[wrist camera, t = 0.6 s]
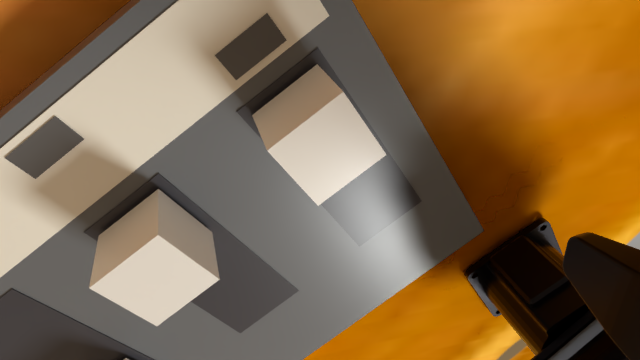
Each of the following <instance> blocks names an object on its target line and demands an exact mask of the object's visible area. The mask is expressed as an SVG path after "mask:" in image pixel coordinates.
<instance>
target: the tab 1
mask: <svg viewBox="0 0 640 360" xmlns="http://www.w3.org/2000/svg"><path fill="white" fill-rule="evenodd" d="M218 280H220V278H219V272H218V266H217V259H216V253H215V247H214V240H213V234H212V232H211V231H210V230H209V229H208V228H206V227H205V226H204V225H203V224H201V223H200V222H199V221H198V220H196V219H195V218H194V217H193V216H191V215H190V214H189V213H188V212H186V211H185V210H184V209H183V208H182V207H180V206H179V205H178V204H177V203H175V202H174V201H173V200H172V199H170V198H169V197H168V196H167V195H165V194H164V193H163V192H162V191H160V190H159V189H157V190H156V191H155V192H154V193H152V194H151V195H150V196H149V197H147V198H146V199H145V200H143V201H142V202H141V203H140V204H138V205H137V206H136V207H135V208H133V209H132V210H131V211H129V212H128V213H127V214H126V215H124V216H123V217H122V218H121V219H119V220H118V221H117V222H115V223H114V224H113V225H112V226H110V227H109V228H108V229H107V230H105V231H104V232H103V233H101V234H100V235H99V236H98V242H97V247H96V253H95V258H94V264H93V269H92V275H91V280H90V286H89V288H90V289H91V290H93V291H95V292H97V293H98V294H100V295H102V296H104V297H106V298H107V299H109V300H111V301H113V302H114V303H116V304H118V305H120V306H122V307H123V308H125V309H127V310H129V311H130V312H132V313H134V314H136V315H138V316H139V317H141V318H143V319H145V320H146V321H148V322H150V323H152V324H154V325H155V326H158V325H159V324H161V323H162V322H163V321H165V320H166V319H167V318H169V317H170V316H171V315H173V314H174V313H175V312H177V311H178V310H180V309H181V308H182V307H184V306H185V305H186V304H188V303H189V302H190V301H192V300H193V299H194V298H196V297H197V296H198V295H200V294H201V293H202V292H204V291H205V290H206V289H208V288H209V287H210V286H212V285H213V284H214V283H216V282H217V281H218Z"/></svg>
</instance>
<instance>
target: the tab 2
mask: <svg viewBox="0 0 640 360" xmlns="http://www.w3.org/2000/svg"><path fill="white" fill-rule="evenodd" d="M252 116H253V119H254V121H255V123H256V126H257V128H258V131H259V133H260V135H261V138H262V140H263V142H264V145H265V147H266V149H267V151H268V152H269V153H270V154H271V156H272V157H273V158H274V159H275V160H276V161H277V162H278V163H279V164H280V165H281V166H282V167H283V169H284V170H285V171H286V172H287V173H288V174H289V175H290V176H291V177H292V178H293V179H294V180H295V182H296V183H297V184H298V185H299V186H300V187H301V188H302V189H303V190H304V191H305V192H306V193H307V195H308V196H309V197H310V198H311V199H312V200H313V201H314V202H315V203H316V204H317V205H318V206H319V205H320V204H321V203H323V202H324V201H325V200H327V199H328V198H329V197H331V196H332V195H333V194H335V193H336V192H337V191H339V190H340V189H341V188H343V187H344V186H345V185H347V184H348V183H349V182H351V181H352V180H354V179H355V178H356V177H358V176H359V175H360V174H362V173H363V172H364V171H366V170H367V169H368V168H370V167H371V166H372V165H374V164H375V163H376V162H378V161H379V160H380V159H382V158H383V157H384V156H386V153H385V152H384V150H383V149H382V147H381V146H380V144H379V143H378V141H377V140H376V139H375V137H374V136H373V134H372V133H371V131H370V130H369V128H368V127H367V125H366V124H365V122H364V121H363V120H362V118H361V117H360V115H359V114H358V112H357V111H356V109H355V108H354V106H353V105H352V103H351V102H350V101H349V99H348V98H347V96H346V95H345V93H344V92H343V91H342V90H341V89H340V88H339V87H338V85H337V84H336V83H335V82H334V81H333V80H332V79H331V78H330V77H329V76H328V75H327V74H326V73H325V72H324V71H323V70H322V69H321V68H320V67H319V65H318V64H317V65H315V66H314V67H313V68H312V69H310V70H309V71H308V72H307V73H305V74H304V75H303V76H301V77H300V78H299V79H298V80H296V81H295V82H294V83H292V84H291V85H290V86H289V87H287V88H286V89H285V90H284V91H282V92H281V93H280V94H278V95H277V96H276V97H275V98H273V99H272V100H271V101H270V102H268V103H267V104H266V105H264V106H263V107H262V108H261V109H259V110H258V111H257V112H256V113H254V114H253V115H252Z"/></svg>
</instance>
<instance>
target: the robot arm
mask: <svg viewBox="0 0 640 360" xmlns="http://www.w3.org/2000/svg"><path fill="white" fill-rule="evenodd" d="M465 276H466V278H467V279H468V281H469V282H470V283H471V285H472V286H473V288H474V289H475V291H476V292H477V293H478V295H479V296H480V298H481V299H482V301H483V302H484V304H485V305H486V306H487V308H488V309H489V311H490V312H491V313H492V315H493V316H499V315H501V314H502V315H503V316H504V318H505V319H506V320H507V321H508V323H509V324H510V325H511V326H512V327H513V329H514V330H515V331H516V332H517V334H518V335H519V336H520V337H521V338H522V340H523V341H524V342H525V343H526V344H527V346H528V347H529V348H530V349H531V351H532V352H533V353H534V354H535V355H536V356H534V357H533V358H532V359H531V360H640V250H639V249H636V248H633V247H630V246H628V245H625V244H622V243H619V242H616V241H613V240H611V239H608V238H605V237H602V236H599V235H597V234H594V233H589V232H587V233H582V234H579V235H576V236H573V237H571V238H570V239H569V241H568V243H567V247H566V251H565V255H564V256H563V255H562V252H561V250H560V247H559V245H558V242H557V240H556V238H555V235H554V233H553V230H552V228H551V225H550V223H549V222H548V221H547V220H545V219H543V218H541V219H539V220H537V221H536V222H534V223H533V224H531V225H530V226H528V227H527V228H526V229H524V230H523V231H521V232H520V233H518V234H517V235H516V236H514V237H513V238H511V239H510V240H509V241H507V242H506V243H504V244H503V245H501V246H500V247H499V248H497V249H496V250H494V251H493V252H491V253H490V254H489V255H487V256H486V257H484V258H483V259H481V260H480V261H479V262H477V263H476V264H474V265H473V266H471V267H470V268H469V269H468V270H467V271H466V272H465Z"/></svg>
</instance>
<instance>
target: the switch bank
mask: <svg viewBox="0 0 640 360" xmlns="http://www.w3.org/2000/svg"><path fill="white" fill-rule="evenodd" d="M317 64H318V65H319V67H320V68H321V69H322V70H323V71H324V72H325V73H326V74H327V75H328V76H329V77H330V78H331V79H332V80H333V81H334V82H335V83H336V84H337V85H338V87H339V88H340V89H341V90H342V91H343V92H344V93H345V95H346V96H347V98H348V99H349V101H350V102H351V103H352V105H353V106H354V108H355V109H356V111H357V112H358V114H359V115H360V117H361V118H362V120H363V121H364V122H365V124H366V125H367V127H368V128H369V130H370V131H371V133H372V134H373V136H374V137H375V139H376V140H377V141H378V143H379V144H380V146H381V147H382V149H383V150H384V152H385V153H386V156H384V157H383V158H382V159H380V160H379V161H378V162H376V163H375V164H374V165H372V166H371V167H370V168H368V169H367V170H366V171H364V172H363V173H362V174H360V175H359V176H358V177H356V178H355V179H354V180H352V181H351V182H349V183H348V184H347V185H345V186H344V187H343V188H341V189H340V190H339V191H337V192H336V193H335V194H333V195H332V196H331V197H329V198H328V199H327V200H325V201H324V202H323V203H321V204H320V205H319V206H318V205H317V204H316V203H315V202H314V201H313V200H312V199H311V198H310V197H309V196H308V195H307V193H306V192H305V191H304V190H303V189H302V188H301V187H300V186H299V185H298V184H297V183H296V182H295V180H294V179H293V178H292V177H291V176H290V175H289V174H288V173H287V172H286V171H285V170H284V169H283V167H282V166H281V165H280V164H279V163H278V162H277V161H276V160H275V159H274V158H273V157H272V156H271V154H270V153H269V152H268V151H267V149H266V147H265V145H264V142H263V140H262V138H261V135H260V133H259V131H258V128H257V126H256V123H255V121H254V119H253V116H252V115H253V114H254V113H256V112H257V111H258V110H259V109H261V108H262V107H263V106H264V105H266V104H267V103H268V102H270V101H271V100H272V99H273V98H275V97H276V96H277V95H278V94H280V93H281V92H282V91H284V90H285V89H286V88H287V87H289V86H290V85H291V84H292V83H294V82H295V81H296V80H298V79H299V78H300V77H301V76H303V75H304V74H305V73H307V72H308V71H309V70H310V69H312V68H313V67H314V66H315V65H317ZM157 189H159V190H160V191H162V192H163V193H164V194H165V195H167V196H168V197H169V198H170V199H172V200H173V201H174V202H175V203H177V204H178V205H179V206H180V207H182V208H183V209H184V210H185V211H186V212H188V213H189V214H190V215H191V216H193V217H194V218H195V219H196V220H198V221H199V222H200V223H201V224H203V225H204V226H205V227H206V228H208V229H209V230H210V231H211V232H212V234H213V240H214V247H215V253H216V259H217V266H218V272H219V278H220V280H218V281H217V282H216V283H214V284H213V285H212V286H210V287H209V288H208V289H206V290H205V291H204V292H202V293H201V294H200V295H198V296H197V297H196V298H194V299H193V300H192V301H190V302H189V303H188V304H186V305H185V306H184V307H182V308H181V309H180V310H178V311H177V312H175V313H174V314H173V315H171V316H170V317H169V318H167V319H166V320H165V321H163V322H162V323H161V324H159V325H158V326H155V325H154V324H152V323H150V322H148V321H146V320H145V319H143V318H141V317H139V316H138V315H136V314H134V313H132V312H130V311H129V310H127V309H125V308H123V307H122V306H120V305H118V304H116V303H114V302H113V301H111V300H109V299H107V298H106V297H104V296H102V295H100V294H98V293H97V292H95V291H93V290H91V289H90V288H89V286H90V280H91V275H92V269H93V264H94V258H95V253H96V247H97V242H98V236H99V235H100V234H101V233H103V232H104V231H105V230H107V229H108V228H109V227H110V226H112V225H113V224H114V223H115V222H117V221H118V220H119V219H121V218H122V217H123V216H124V215H126V214H127V213H128V212H129V211H131V210H132V209H133V208H135V207H136V206H137V205H138V204H140V203H141V202H142V201H143V200H145V199H146V198H147V197H149V196H150V195H151V194H152V193H154V192H155V191H156V190H157ZM483 231H484V230H483V228H482V226H481V224H480V223H479V221H478V219H477V217H476V216H475V214H474V212H473V210H472V209H471V207H470V205H469V203H468V202H467V200H466V198H465V197H464V195H463V193H462V191H461V190H460V188H459V186H458V184H457V183H456V181H455V179H454V177H453V176H452V174H451V172H450V170H449V169H448V167H447V165H446V163H445V162H444V160H443V158H442V156H441V155H440V153H439V151H438V150H437V148H436V146H435V144H434V143H433V141H432V139H431V137H430V136H429V134H428V132H427V130H426V129H425V127H424V125H423V123H422V122H421V120H420V118H419V116H418V115H417V113H416V111H415V109H414V108H413V106H412V104H411V103H410V101H409V99H408V97H407V96H406V94H405V92H404V90H403V89H402V87H401V85H400V83H399V82H398V80H397V78H396V76H395V75H394V73H393V71H392V69H391V68H390V66H389V64H388V63H387V61H386V59H385V57H384V56H383V54H382V52H381V50H380V49H379V47H378V45H377V43H376V42H375V40H374V38H373V36H372V35H371V33H370V31H369V29H368V28H367V26H366V24H365V22H364V21H363V19H362V17H361V16H360V14H359V12H358V10H357V9H356V7H355V5H354V3H353V2H352V0H130V1H129V2H128V3H127V4H126V5H124V6H123V7H122V8H121V9H120V10H118V11H117V12H116V13H115V14H114V15H113V16H111V17H110V18H109V19H108V20H107V21H105V22H104V23H103V24H102V25H101V26H99V27H98V28H97V29H96V30H95V31H94V32H92V33H91V34H90V35H89V36H88V37H86V38H85V39H84V40H83V41H82V42H81V43H79V44H78V45H77V46H76V47H75V48H73V49H72V50H71V51H70V52H69V53H68V54H66V55H65V56H64V57H63V58H62V59H60V60H59V61H58V62H57V63H56V64H54V65H53V66H52V67H51V68H50V69H49V70H47V71H46V72H45V73H44V74H43V75H41V76H40V77H39V78H38V79H37V80H36V81H34V82H33V83H32V84H31V85H30V86H28V87H27V88H26V89H25V90H24V91H22V92H21V93H20V94H19V95H18V96H17V97H15V98H14V99H13V100H12V101H11V102H9V103H8V104H7V105H6V106H5V107H4V108H2V109H1V110H0V360H124V359H125V358H127V359H129V360H303V359H304V358H305V357H307V356H308V355H310V354H311V353H313V352H314V351H315V350H317V349H318V348H320V347H321V346H322V345H324V344H325V343H327V342H328V341H329V340H331V339H332V338H334V337H335V336H336V335H338V334H339V333H341V332H342V331H344V330H345V329H346V328H348V327H349V326H351V325H352V324H353V323H355V322H356V321H358V320H359V319H360V318H362V317H363V316H365V315H366V314H368V313H369V312H370V311H372V310H373V309H375V308H376V307H377V306H379V305H380V304H382V303H383V302H384V301H386V300H387V299H389V298H390V297H391V296H393V295H394V294H396V293H397V292H399V291H400V290H401V289H403V288H404V287H406V286H407V285H408V284H410V283H411V282H413V281H414V280H415V279H417V278H418V277H420V276H421V275H423V274H424V273H425V272H427V271H428V270H430V269H431V268H432V267H434V266H435V265H437V264H438V263H439V262H441V261H442V260H444V259H445V258H446V257H448V256H449V255H451V254H452V253H454V252H455V251H456V250H458V249H459V248H461V247H462V246H463V245H465V244H466V243H468V242H469V241H470V240H472V239H473V238H475V237H476V236H478V235H479V234H480V233H482V232H483Z"/></svg>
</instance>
